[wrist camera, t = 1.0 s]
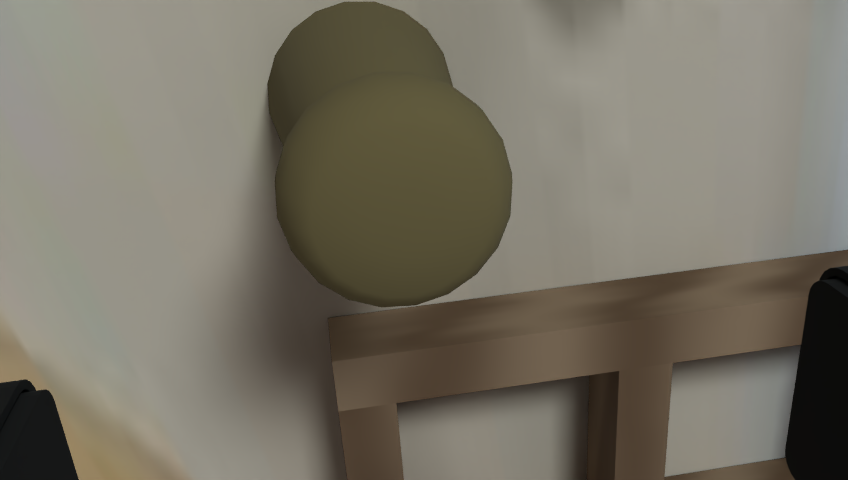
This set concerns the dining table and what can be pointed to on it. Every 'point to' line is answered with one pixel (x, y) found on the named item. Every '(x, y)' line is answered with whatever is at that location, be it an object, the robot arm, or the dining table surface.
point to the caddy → (570, 356)
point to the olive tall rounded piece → (383, 159)
